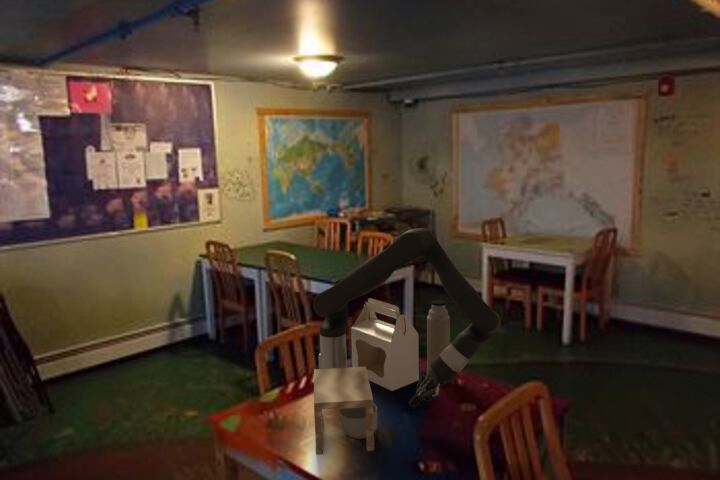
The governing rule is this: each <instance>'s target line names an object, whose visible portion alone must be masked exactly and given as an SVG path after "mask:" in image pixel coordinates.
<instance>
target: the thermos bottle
mask: <svg viewBox="0 0 720 480" xmlns="http://www.w3.org/2000/svg"><path fill="white" fill-rule="evenodd" d="M426 326H427V328H426V329H427V330H426V338H427V339H426V346H427V348H426V357H427V359H426V360H427V362H426V364H427V367H426V370H427V371H426V373H428V372H429V371H430V370H431V369H432V368H431V364H432V363H433V361H434V360H435V359H436V358H437V357H438V356H439V355H440V354H441V353H442V351H443V350H444V349H445V348H446V347H447V346H449V345H450V344H451V329H450V328H451V317H450V315H449V311H448V309H446V301H444V300H442V299H435V300H432V301H431V308H430V309H429V310H428V315H427V317H426Z"/></svg>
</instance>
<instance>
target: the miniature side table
mask: <svg viewBox="0 0 720 480" xmlns="http://www.w3.org/2000/svg"><path fill="white" fill-rule="evenodd" d="M373 403H374V398H373V393H372V389H371V385H370V380H369V379H368V375H367V371H366V367H352V366H351V367H348V366H347V368H331V369H319V368H317V369H316V368H315V369H313V410H314V411H313V412H314V413H313V414H314V416H313V417H314V431H315V433H314V434H315V435H314V437H315V455H324V433H323V411H324V410H337V409H339V410H340V409H342V408H358V407H365V411H366V438H365V439H366V442H365V443H366V452H372V451H373V452H374V451H375V431H374V415H373Z"/></svg>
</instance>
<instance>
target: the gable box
mask: <svg viewBox="0 0 720 480" xmlns="http://www.w3.org/2000/svg"><path fill="white" fill-rule="evenodd" d="M364 303H365V304H363V308H362V309H361V311H360V313H359V315H357V318H356V319H355V321H354V323H353V324H352V326H351V328H350V331H351V332H350V335H351V338H350V340H351V364H352V366H351V367H366V371H367V375H368V379H369V382H371V383H374V384H376V385H379V386H380V387H383V388H385V389H387V390H389V391H391V392H393V391H395V390H398V389H401V388H403V387H405V386H408V385H411V384H413V383H416V382H418V381H419V379H420V367H419V365H420V361H419V360H420V357H419V354H420V353H419V347H420V346H419V340H420V339H419V333H418V331H417V329H415V327H414V325H412V323H411V322H410V320H409V319H408V317H407V316H406V315H404V314H401V308H400V306H398V305H396V304H392V303H388V302H385V301H382V300H379V299H376V298H372V297H369V298H368V299H367V301H365V302H364ZM376 313H378V314H380V315H384V316H387V317H390V318H393V319H395V324H392V323H389V322H386V321H382V320H380V319H378V318H377V314H376Z"/></svg>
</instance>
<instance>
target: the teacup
mask: <svg viewBox="0 0 720 480" xmlns="http://www.w3.org/2000/svg"><path fill="white" fill-rule="evenodd" d="M339 413H340V420H341V421H340V422H341V426H342V427H341V428H342V430H343V432H344V433H345V434H346V435H347V436H349V437H350V438H352V439H357V440H362V439H363V440H364V439H366V411H365V407H358V408H342V409H339ZM373 415H374V432H376V430H377V428H378V421H379V420H378V406H377V405H376V403H375V402H373Z"/></svg>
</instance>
